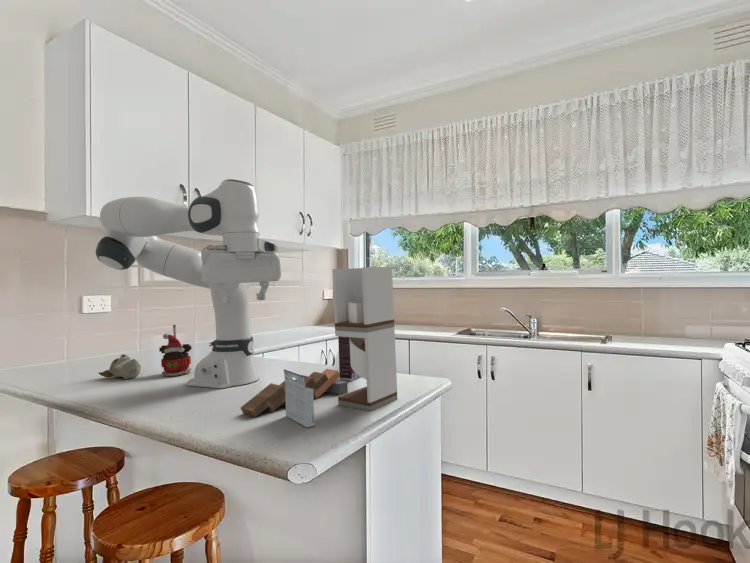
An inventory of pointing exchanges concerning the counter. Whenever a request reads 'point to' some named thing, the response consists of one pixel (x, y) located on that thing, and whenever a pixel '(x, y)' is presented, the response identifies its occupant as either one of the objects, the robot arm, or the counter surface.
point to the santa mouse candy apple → (175, 356)
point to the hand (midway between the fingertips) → (244, 301)
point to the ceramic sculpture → (123, 368)
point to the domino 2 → (278, 400)
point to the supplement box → (345, 360)
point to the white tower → (367, 332)
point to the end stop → (338, 387)
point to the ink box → (299, 399)
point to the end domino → (331, 376)
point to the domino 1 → (262, 400)
